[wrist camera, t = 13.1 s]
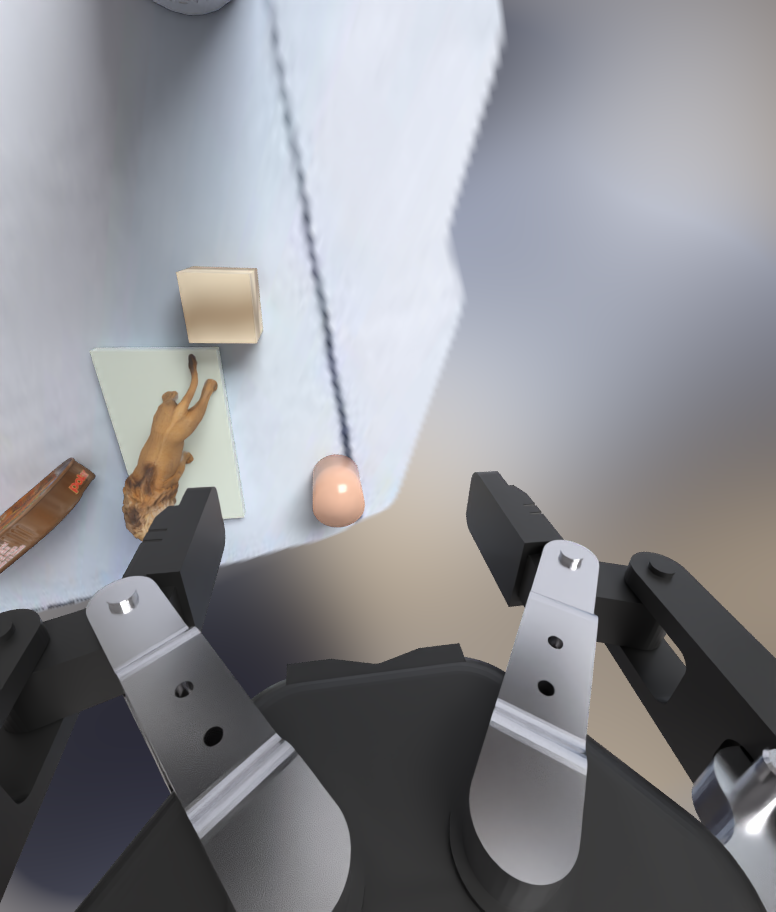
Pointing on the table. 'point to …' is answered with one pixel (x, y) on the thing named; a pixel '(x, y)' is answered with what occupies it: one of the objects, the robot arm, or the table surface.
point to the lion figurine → (164, 456)
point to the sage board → (166, 369)
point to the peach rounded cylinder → (337, 491)
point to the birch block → (221, 304)
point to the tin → (41, 510)
